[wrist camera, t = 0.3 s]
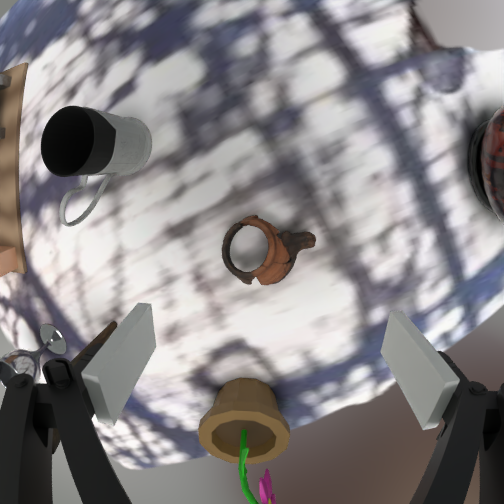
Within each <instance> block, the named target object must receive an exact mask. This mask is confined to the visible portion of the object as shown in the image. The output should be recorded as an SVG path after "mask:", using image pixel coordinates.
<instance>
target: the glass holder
mask: <svg viewBox="0 0 504 504" xmlns="http://www.w3.org/2000/svg"><path fill="white" fill-rule="evenodd" d="M151 148H152V139H151V135H150V132H149V130H148V128H147V127H146V125H145V124H144V123H143V122H141V121H140V120H138V119H136V118H132V117H125V118H122V117H119V116H116V115H112V114H109V113H106V112H102V111H99V110H96V109H92V108H88V107H83V108H82V107H78V106H67V107H64V108H62V109H60V110H59V111H57V112H56V113H55V114H54V115H53V116H52V117H51V118H50V120H49V121H48V123H47V125H46V126H45V129H44V131H43V135H42V139H41V154H42V158H43V161H44V163H45V165H46V167H47V168H48V170H49V171H50V172H51V173H53V174H55V175H57V176H60V177H68V176H78V175H83V176H82V181H81V184H80V186H79V187H77V188H73V189H71V190H69V191H68V192H67V193H66V194H65V196H64V197H63V200H62V202H61V205H60V212H59V214H60V220H61V222H62V224H64V225H65V226H68V227H69V226H74V225H76V224H79V223H80V222H81V221H83V220H84V219H85V218H86V217H87V216H88V215H89V214H90V213H91V211H92V210H93V209H94V207H95V206H96V204H97V202H98V200H99V198H100V197H101V195H102V193H103V191H104V189H105V187H106V185H107V183H108V182H109V180H110V178H111V177H112V176H113V175H118V176H128V175H131V174H134V173H136V172H137V171H139V170H140V169H141V168H142V167H143V166H144V165H145V163H146V162H147V160H148V158H149V156H150V153H151ZM104 174H107V176H106V177H105V179H104V181H103V183H102V184H101V186H100V188H99V190H98V192H97V194H96V196H95V197H94V199H93V201H92V203H91V204H90V206H89V207H88V208H87V210H86V211H85V212H84V213H83V214H82V215H81V216H80V217H79V218H77V219H76V220H74V221H72V222H70V223H67V222H66V219H65V208H66V204H67V202H68V200H69V198H70V197H71V196H72V195H73V194H74V193H76V192H78V191H81V190H83V189H84V188H85V186H86V183H87V178H88V176H93V175H104Z"/></svg>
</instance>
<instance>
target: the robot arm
mask: <svg viewBox="0 0 504 504" xmlns="http://www.w3.org/2000/svg"><path fill="white" fill-rule="evenodd" d="M155 348H156V340H155V333H154V325H153V316H152V307H151V304H148V303H138V304H137V305H136V306H135V307H134V308H133V310H132V311H131V312H130V313H129V314H128V316H127V317H126V318H125V319H124V320H123V322H122V323H121V324H120V325H119V326H118V328H117V329H116V330H115V331H114V332H113V334H112V335H111V336H110V337H109V339H108V340H107V341H106V342H105V344H101V343H97V344H95V345H93V346H92V347H90V348H89V349H88V350H87V351H86V353H85V355H83V356H82V357H81V360H79V361H78V362H77V363H76V365H75V366H74V367H72V364H71V362H70V361H69V360H67V359H64V358H55V359H52V360H49V361H48V362H46V363H45V364H44V366H43V368H42V371H43V374H44V377H45V379H46V382H47V384H40V383H35V381H34V379H33V377H32V376H31V375H29V374H26V373H21V374H17V375H15V376H13V377H12V378H11V379H10V380H9V382H8V385H7V388H6V392H5V395H4V398H3V402H2V405H1V409H0V504H53V501H52V439H53V428H55V429H58V432H59V435H60V439H61V442H62V446H63V449H64V453H65V455H66V459H67V462H68V465H69V468H70V471H71V474H72V477H73V479H74V482H75V485H76V487H77V490H78V492H79V495H80V497H81V500H82V502H83V504H132V503H131V501H130V499H129V497H128V496H127V494H126V492H125V490H124V488H123V486H122V485H121V483H120V481H119V479H118V477H117V475H116V473H115V471H114V469H113V467H112V465H111V463H110V461H109V459H108V457H107V455H106V452H105V450H104V448H103V446H102V444H101V441H100V439H99V437H98V434H97V432H96V430H95V427H94V425H93V422H92V420H91V419H92V417H93V415H94V414H96V417H97V419H98V422H100V423H104V424H108V425H112V426H114V425H115V423H116V421H117V419H118V417H119V415H120V413H121V412H122V410H123V408H124V406H125V404H126V402H127V400H128V398H129V396H130V394H131V392H132V391H133V389H134V387H135V385H136V383H137V381H138V379H139V377H140V376H141V374H142V372H143V370H144V368H145V366H146V364H147V363H148V361H149V359H150V357H151V355H152V353H153V352H154V350H155ZM381 354H382V356H383V358H384V359H385V361H386V363H387V365H388V366H389V368H390V370H391V372H392V373H393V375H394V377H395V379H396V380H397V382H398V384H399V386H400V388H401V390H402V391H403V393H404V395H405V397H406V399H407V401H408V402H409V404H410V406H411V408H412V410H413V412H414V414H415V415H416V417H417V419H418V421H419V423H420V425H421V427H422V429H423V430H426V429H430V428H435V427H437V426H438V424H439V422H440V420H441V418H443V420H444V421H445V425H444V426H443V428H442V430H441V432H440V433H439V435H438V437H437V440H438V442H437V444H436V447H435V449H434V452H433V454H432V457H431V459H430V461H429V464H428V466H427V468H426V471H425V473H424V475H423V477H422V480H421V481H420V484H419V486H418V488H417V490H416V492H415V494H414V496H413V498H412V500H411V501H410V504H463V503H464V500H465V497H466V494H467V491H468V488H469V485H470V481H471V478H472V474H473V471H474V467H475V463H476V459H477V455H478V451H479V460H480V500H479V504H504V383H503V384H502V385H501V387H500V389H499V391H488V390H487V389H486V387H485V386H484V385H483V384H481V383H479V382H474V381H471V382H469V381H468V379H467V378H466V377H465V375H464V374H463V373H462V372H461V371H460V369H459V368H457V366H456V365H455V363H453V361H452V360H451V359H450V357H449V356H447V355H446V354H445V353H443V352H442V351H436V350H435V348H434V347H433V346H432V345H431V344H430V342H429V341H428V340H427V339H426V338H425V336H424V335H423V334H422V333H421V332H420V331H419V329H418V328H417V327H416V326H415V325H414V324H413V323H412V321H411V320H410V319H409V318H408V317H407V316H406V315H405V313H404V312H403V311H390V315H389V320H388V324H387V329H386V333H385V337H384V341H383V345H382V349H381Z"/></svg>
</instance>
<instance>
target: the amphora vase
mask: <svg viewBox="0 0 504 504" xmlns="http://www.w3.org/2000/svg"><path fill="white" fill-rule="evenodd" d="M469 172H470V176H471V181H472V185H473V187H474V190H475V192H476V195H477V196H478V198H479V199H480V201H481V202H482V204H483V205H484V206H485V207H486V208H488V209H489V210H490V211H492V212H495V214H496V215H497V217H498V219H499V220H500V221H501V222H502V223H503V224H504V105H503V106H502V107H501V108H499V109H498V110H497V111H496V112H495V113H494V115H493V116H492V118H491V119H490V120H486V121H485V122H483V123H482V124H481V125H479V126H478V128H477V130H476V131H475V133H474V134H473V138H472V141H471V144H470V150H469Z"/></svg>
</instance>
